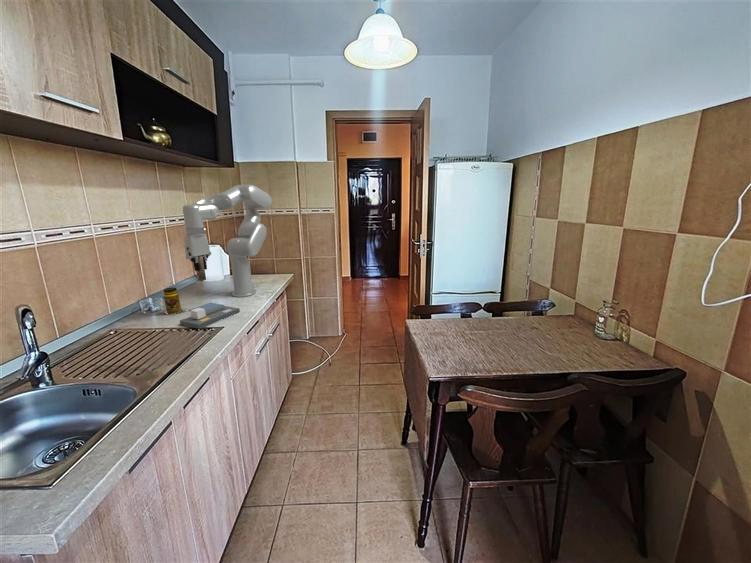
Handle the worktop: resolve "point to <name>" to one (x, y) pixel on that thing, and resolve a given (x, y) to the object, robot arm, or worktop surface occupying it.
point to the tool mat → (208, 306)
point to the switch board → (210, 317)
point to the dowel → (201, 269)
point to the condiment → (172, 300)
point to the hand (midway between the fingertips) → (200, 269)
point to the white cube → (198, 313)
